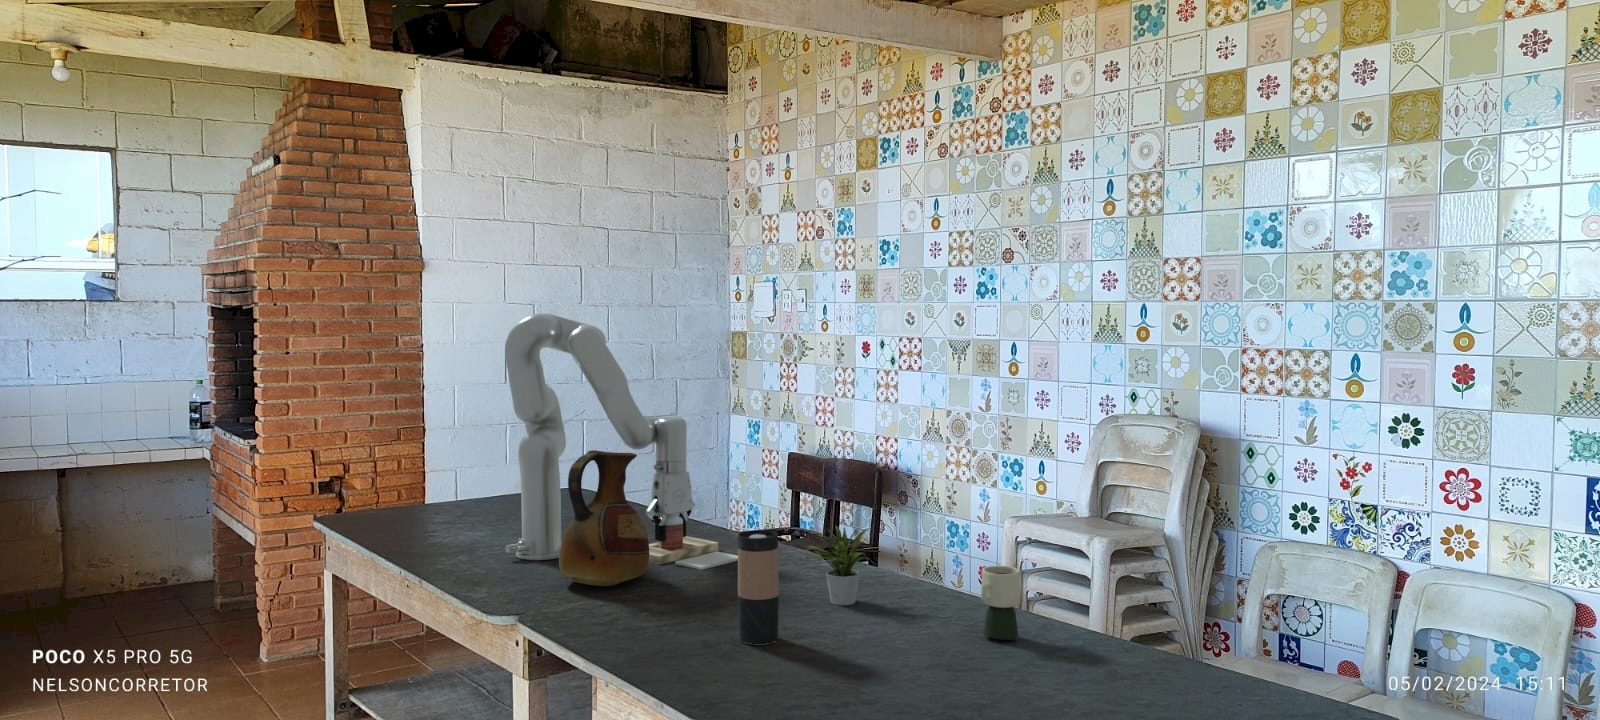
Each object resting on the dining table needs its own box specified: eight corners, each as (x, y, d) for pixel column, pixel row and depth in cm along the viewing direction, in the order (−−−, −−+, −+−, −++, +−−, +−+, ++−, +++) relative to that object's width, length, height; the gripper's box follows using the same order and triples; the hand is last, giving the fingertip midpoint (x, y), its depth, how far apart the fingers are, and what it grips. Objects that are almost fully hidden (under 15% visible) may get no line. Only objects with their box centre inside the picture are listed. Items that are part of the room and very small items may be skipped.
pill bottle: (688, 552, 282) (688, 508, 282) (668, 556, 278) (668, 511, 277) (672, 548, 287) (673, 505, 286) (653, 552, 283) (653, 508, 282)
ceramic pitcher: (667, 581, 255) (665, 449, 254) (594, 598, 241) (592, 459, 239) (613, 567, 269) (611, 442, 267) (541, 583, 254) (539, 450, 252)
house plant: (844, 588, 249) (844, 514, 248) (892, 599, 239) (892, 523, 238) (798, 600, 239) (797, 523, 238) (845, 613, 229) (845, 533, 228)
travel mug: (764, 648, 206) (763, 540, 205) (730, 642, 210) (729, 535, 209) (786, 638, 212) (786, 532, 211) (753, 631, 217) (752, 528, 215)
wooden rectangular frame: (659, 564, 271) (658, 556, 271) (626, 557, 279) (626, 549, 279) (718, 550, 286) (718, 542, 286) (685, 543, 294) (685, 536, 294)
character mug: (1004, 628, 218) (1004, 561, 217) (1034, 636, 212) (1034, 568, 212) (967, 640, 211) (967, 571, 210) (997, 649, 205) (997, 578, 205)
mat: (701, 569, 266) (701, 567, 266) (675, 563, 272) (675, 561, 272) (742, 559, 276) (742, 556, 276) (716, 553, 282) (716, 551, 282)
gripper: (655, 472, 272) (654, 546, 273) (706, 465, 285) (706, 535, 286) (634, 469, 277) (634, 541, 278) (686, 462, 290) (685, 531, 291)
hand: (670, 537), depth 282 cm, fingers closed on pill bottle, 6 cm apart
